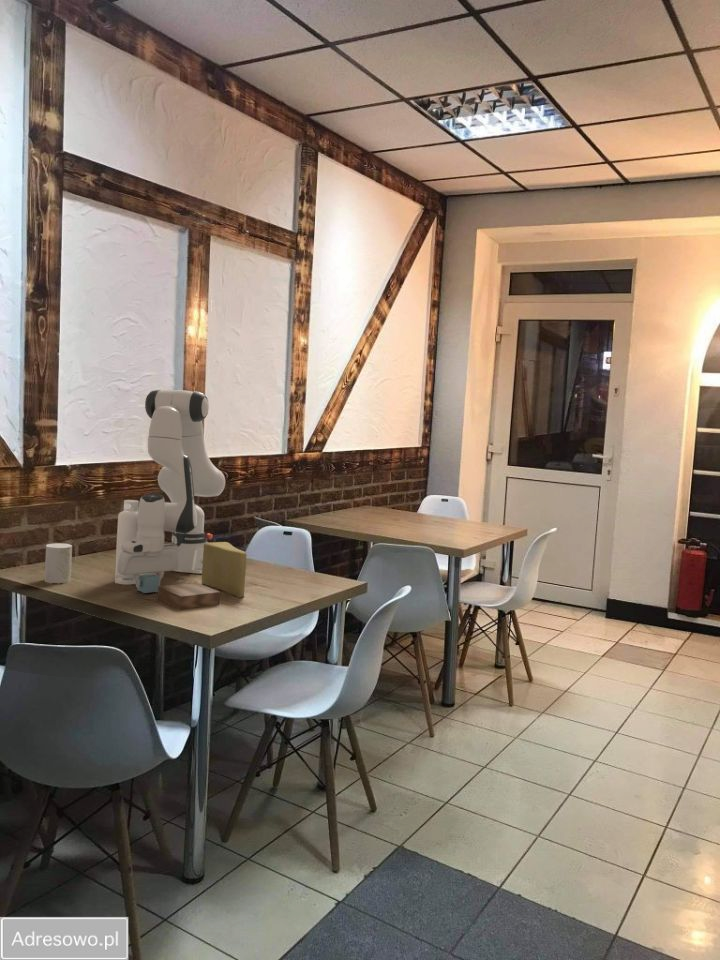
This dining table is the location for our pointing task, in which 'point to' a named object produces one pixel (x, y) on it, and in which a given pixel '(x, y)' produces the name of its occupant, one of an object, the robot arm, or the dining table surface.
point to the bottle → (126, 535)
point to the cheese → (224, 567)
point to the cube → (149, 583)
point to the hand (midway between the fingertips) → (148, 585)
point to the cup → (58, 563)
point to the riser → (188, 595)
